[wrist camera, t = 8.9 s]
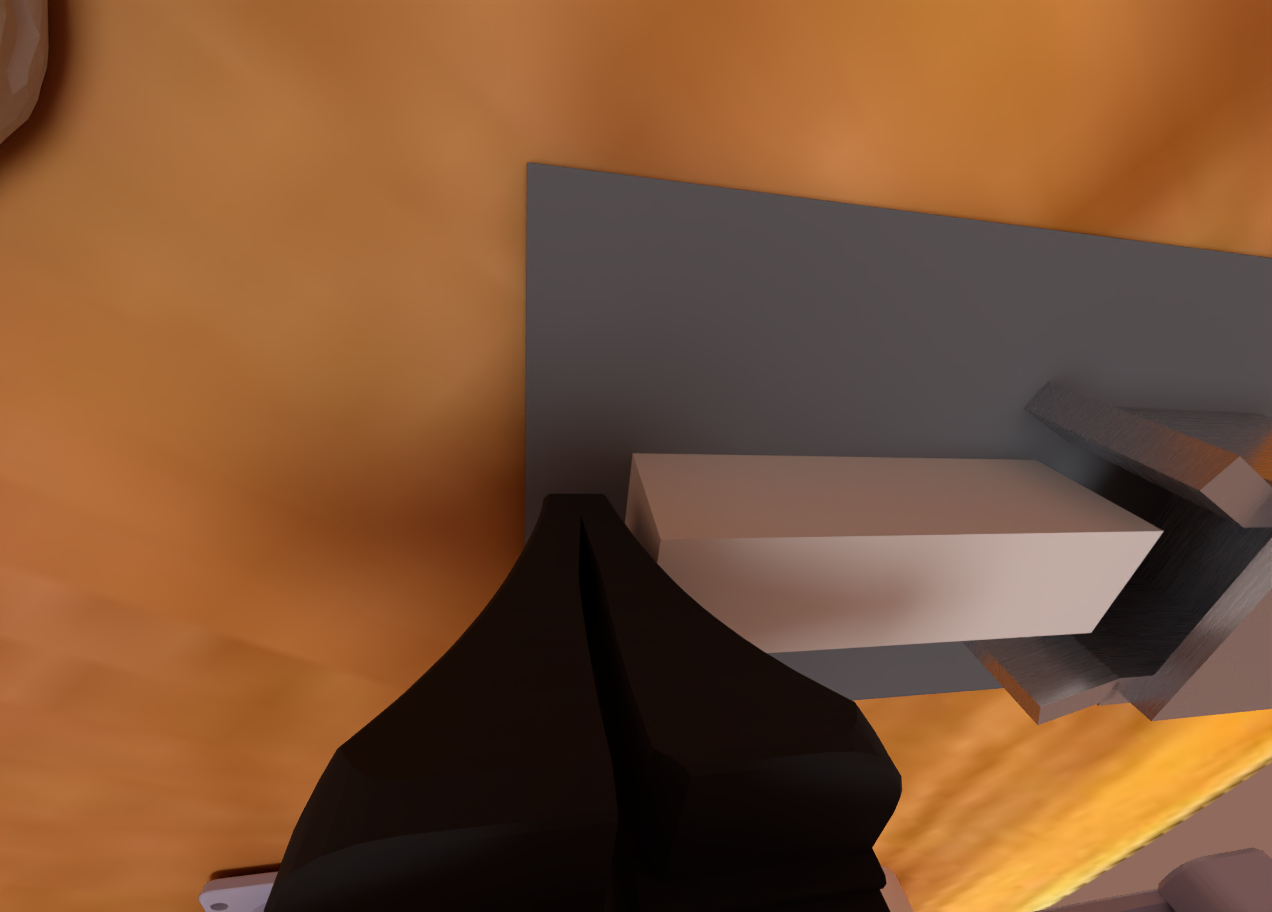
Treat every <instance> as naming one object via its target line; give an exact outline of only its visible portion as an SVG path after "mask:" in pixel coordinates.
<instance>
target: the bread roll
mask: <svg viewBox="0 0 1272 912" xmlns="http://www.w3.org/2000/svg"><path fill="white" fill-rule="evenodd" d="M48 49H49V44H48V0H0V144H1V143H2V142H3V141H4V140H5V139H6V138H7V137H8V136H9V135H10V134H12V133H13V132H14V131H15V130H16V129H17V128H18V127H20V126H21V125H22V124H23V123H24V122H25V121H26V120H27V119H29V117H30V115H31V113H32V111H33V109H34V107H35V105H36V103H37V101H38V98H39V93H40V89H41V85H42V82H43V78H44V75H45V72H46V69H47V62H48Z"/></svg>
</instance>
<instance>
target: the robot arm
mask: <svg viewBox="0 0 1272 912" xmlns="http://www.w3.org/2000/svg"><path fill="white" fill-rule="evenodd" d="M901 792H902V781H901V775H900V773H899V772H898V770H897V768H896V767H895V765H894V763H893V762H892V760H891V758H890V757H889V755H888V753H887V752H886V750H885V748H884V746H883V744H882V743H881V741H880V739H879V738H878V736H877V734H876V732H875V731H874V729H873V728H872V726H871V725H870V723H869V722H868V721H867V719H866V718H865V716H864V715H863V713H862V712H861V710H860V709H859V708H858V706H857V705H856V703H855V702H854V701H852V700H850V699H848V698H846V697H844V696H842V695H840V694H838V693H837V692H835V691H833V690H831V689H829V688H827V687H825V686H823V685H821V684H819V683H818V682H816V681H814V680H812V679H810V678H808V677H806V676H804V675H802V674H800V673H799V672H797V671H795V670H793V669H792V668H790V667H788V666H787V665H785V664H783V663H782V662H780V661H779V660H777V659H775V658H774V657H772V656H770V655H769V654H767V653H766V652H764V651H762V650H761V649H759V648H758V647H756V646H755V645H753V644H752V643H750V642H749V641H747V640H746V639H744V638H743V637H741V636H740V635H739V634H737V633H736V632H735V631H733V630H732V629H730V628H729V627H728V626H726V625H725V624H724V623H722V622H721V621H720V620H718V619H717V618H716V617H714V616H713V615H712V614H711V613H709V612H708V611H707V610H706V609H704V608H703V607H702V606H701V605H700V604H698V603H697V602H696V601H695V600H694V599H693V598H692V597H691V596H689V595H688V594H687V593H686V592H685V591H684V590H683V589H682V588H681V587H679V586H678V585H677V584H676V583H675V582H674V581H673V580H672V579H671V578H670V576H669V575H668V574H667V573H666V572H665V571H664V570H663V569H662V568H661V567H660V566H659V565H658V564H657V563H656V561H655V560H654V559H653V558H652V557H651V556H650V555H649V553H648V552H647V551H646V550H645V549H644V547H643V546H642V545H641V544H640V542H639V541H638V540H637V539H636V538H635V536H634V535H633V534H632V532H631V531H630V530H629V529H628V527H627V526H626V524H625V523H624V522H623V520H622V519H621V518H620V516H619V515H618V513H617V512H616V510H615V509H614V507H613V506H612V504H611V503H610V501H609V500H608V498H607V497H606V496H605V495H604V494H548V495H547V496H546V497H544V498H543V505H542V509H541V512H540V515H539V518H538V520H537V523H536V525H535V527H534V530H533V532H532V534H531V536H530V538H529V540H528V542H527V544H526V546H525V548H524V550H523V551H522V553H521V555H520V557H519V558H518V560H517V562H516V563H515V565H514V566H513V568H512V570H511V571H510V573H509V575H508V576H507V578H506V579H505V581H504V582H503V584H502V585H501V587H500V588H499V590H498V591H497V592H496V594H495V595H494V597H493V598H492V599H491V601H490V602H489V603H488V604H487V606H486V607H485V608H484V610H483V611H482V612H481V613H480V615H479V616H478V617H477V618H476V619H475V621H474V622H473V623H472V624H471V625H470V626H469V628H468V629H467V630H466V631H465V632H464V633H463V635H462V636H461V637H460V638H459V639H458V640H457V641H456V642H455V644H454V645H453V646H452V647H451V648H450V649H449V650H448V651H447V652H446V653H445V654H444V655H443V656H442V657H441V658H440V659H439V660H438V661H437V662H436V663H435V664H434V665H433V666H432V667H431V668H430V669H429V670H428V671H427V672H426V673H425V674H424V675H423V676H422V677H421V678H420V679H418V680H417V681H416V682H415V683H414V684H413V685H412V686H411V687H410V688H409V689H408V690H407V691H406V692H405V693H404V694H403V695H401V696H400V697H399V698H398V699H397V700H396V701H395V702H394V703H392V704H391V705H390V706H389V707H388V708H386V709H385V710H384V711H383V712H381V713H380V714H379V715H378V716H377V717H375V718H374V719H373V720H372V721H371V722H369V723H368V724H367V725H366V726H365V727H363V728H362V729H361V730H360V731H359V732H357V733H356V734H355V735H354V736H353V737H351V738H350V739H349V740H348V741H346V742H345V743H344V744H343V745H341V746H340V747H339V748H338V749H337V751H336V752H335V754H334V755H333V757H332V759H331V760H330V762H329V764H328V766H327V767H326V769H325V771H324V773H323V774H322V776H321V778H320V780H319V781H318V783H317V785H316V787H315V789H314V791H313V793H312V795H311V797H310V799H309V801H308V802H307V804H306V806H305V808H304V810H303V812H302V814H301V816H300V818H299V820H298V822H297V824H296V827H295V829H294V831H293V833H292V836H291V839H290V841H289V844H288V846H287V849H286V852H285V854H284V857H283V860H282V862H281V865H280V868H279V870H278V871H277V872H269V873H261V874H252V875H244V876H236V877H228V878H220V879H215V880H212V881H209V882H208V883H206V884H205V885H204V887H203V889H202V891H201V893H200V895H199V897H198V898H199V902H200V903H201V905H202V906H203V908H204V910H205V911H206V912H890V910H889V907H888V905H887V903H886V901H885V899H884V897H883V895H882V893H881V891H880V889H883V888H884V887H885V885H886V884H887V883H886V876H885V873H884V871H883V869H882V867H881V865H880V863H879V861H878V859H877V857H876V855H875V853H874V851H873V849H872V847H873V845H874V844H875V842H876V841H877V839H878V837H879V836H880V834H881V832H882V831H883V829H884V828H885V826H886V824H887V823H888V821H889V819H890V818H891V816H892V815H893V813H894V811H895V809H896V806H897V804H898V801H899V799H900V796H901ZM1035 912H1272V859H1271V858H1270V857H1269V856H1268V855H1267V854H1266V853H1265V852H1264V851H1262V850H1258V849H1255V848H1248V849H1243V850H1237V851H1231V852H1226V853H1220V854H1214V855H1208V856H1203V857H1200V858H1196V859H1193V860H1191V861H1189V862H1186V863H1184V864H1182V865H1181V866H1179V867H1178V868H1176V869H1175V870H1173V871H1172V872H1171V873H1169V874H1168V875H1167V876H1166V877H1165V878H1164V879H1163V880H1162V881H1161V882H1160V883H1159V887H1158V889H1153V890H1148V891H1143V892H1137V893H1132V894H1126V895H1121V896H1115V897H1110V898H1105V899H1099V900H1094V901H1088V902H1084V903H1078V904H1072V905H1067V906H1062V907H1056V908H1051V909H1045V910H1040V911H1035Z"/></svg>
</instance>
